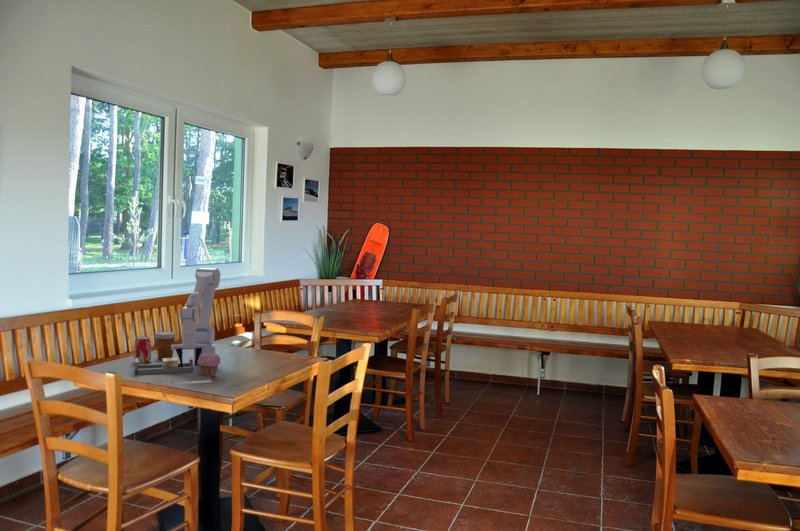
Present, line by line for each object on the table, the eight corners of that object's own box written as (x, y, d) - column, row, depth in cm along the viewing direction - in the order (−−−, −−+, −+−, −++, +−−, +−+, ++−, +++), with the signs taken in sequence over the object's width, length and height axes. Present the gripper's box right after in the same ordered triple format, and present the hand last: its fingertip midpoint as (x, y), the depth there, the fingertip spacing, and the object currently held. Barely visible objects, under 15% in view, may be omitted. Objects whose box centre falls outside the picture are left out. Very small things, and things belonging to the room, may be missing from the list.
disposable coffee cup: (180, 358, 311) (180, 332, 311) (163, 361, 303) (163, 335, 303) (167, 355, 316) (167, 330, 316) (150, 358, 308) (150, 332, 308)
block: (191, 367, 287) (192, 357, 287) (193, 370, 282) (193, 359, 282) (162, 368, 283) (162, 358, 283) (162, 371, 277) (163, 361, 277)
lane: (191, 369, 289) (191, 355, 289) (193, 374, 280) (193, 360, 280) (135, 371, 281) (135, 357, 280) (134, 376, 272) (135, 362, 271)
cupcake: (202, 373, 281) (202, 350, 281) (222, 374, 281) (223, 351, 280) (195, 378, 272) (195, 354, 272) (216, 379, 272) (216, 355, 272)
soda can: (145, 366, 292) (145, 339, 291) (130, 365, 293) (130, 338, 292) (154, 363, 299) (154, 336, 298) (139, 361, 300) (140, 335, 299)
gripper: (171, 336, 277) (171, 368, 278) (207, 335, 282) (206, 367, 283) (171, 333, 283) (170, 365, 284) (206, 332, 289) (205, 363, 289)
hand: (188, 365), depth 284 cm, fingers open, 5 cm apart
